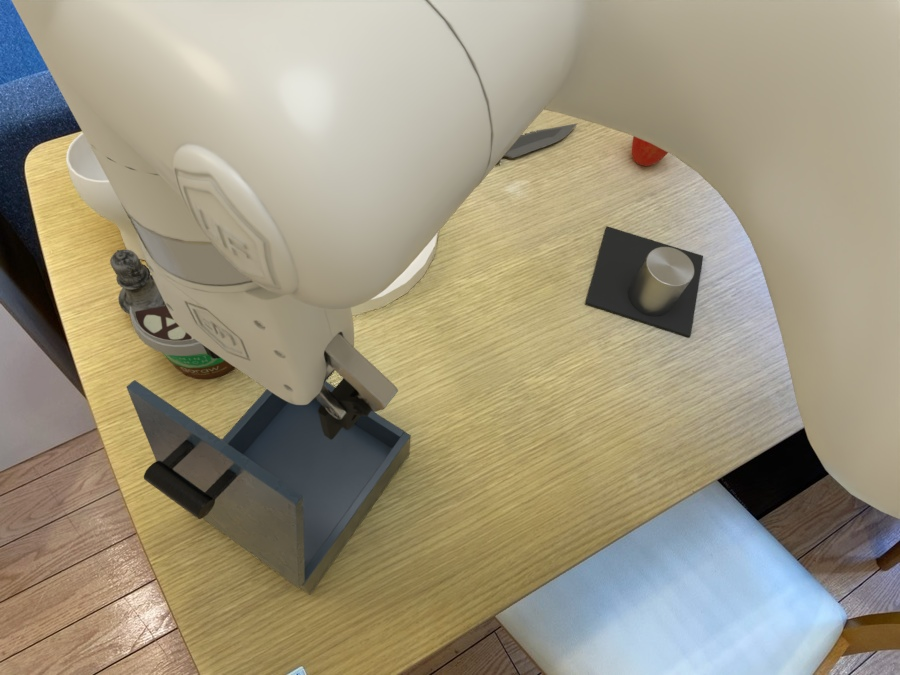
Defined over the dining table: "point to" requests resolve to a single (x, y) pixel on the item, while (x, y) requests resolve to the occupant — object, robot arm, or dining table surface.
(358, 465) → the dark blue-grey open box
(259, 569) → the dining table surface
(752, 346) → the dining table surface
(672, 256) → the brushed metal cylinder
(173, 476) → the lid
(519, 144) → the knife
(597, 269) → the mat
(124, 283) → the chess piece
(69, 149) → the cup
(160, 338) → the food container
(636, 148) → the apple
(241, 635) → the dining table surface
